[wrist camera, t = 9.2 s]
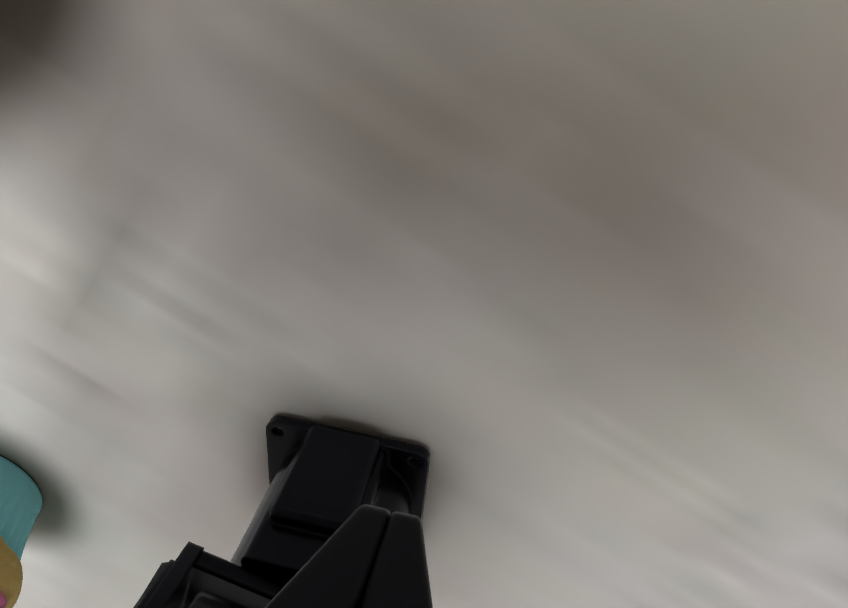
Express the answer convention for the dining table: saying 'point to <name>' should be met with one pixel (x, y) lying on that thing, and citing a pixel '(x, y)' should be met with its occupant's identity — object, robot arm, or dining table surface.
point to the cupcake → (15, 526)
